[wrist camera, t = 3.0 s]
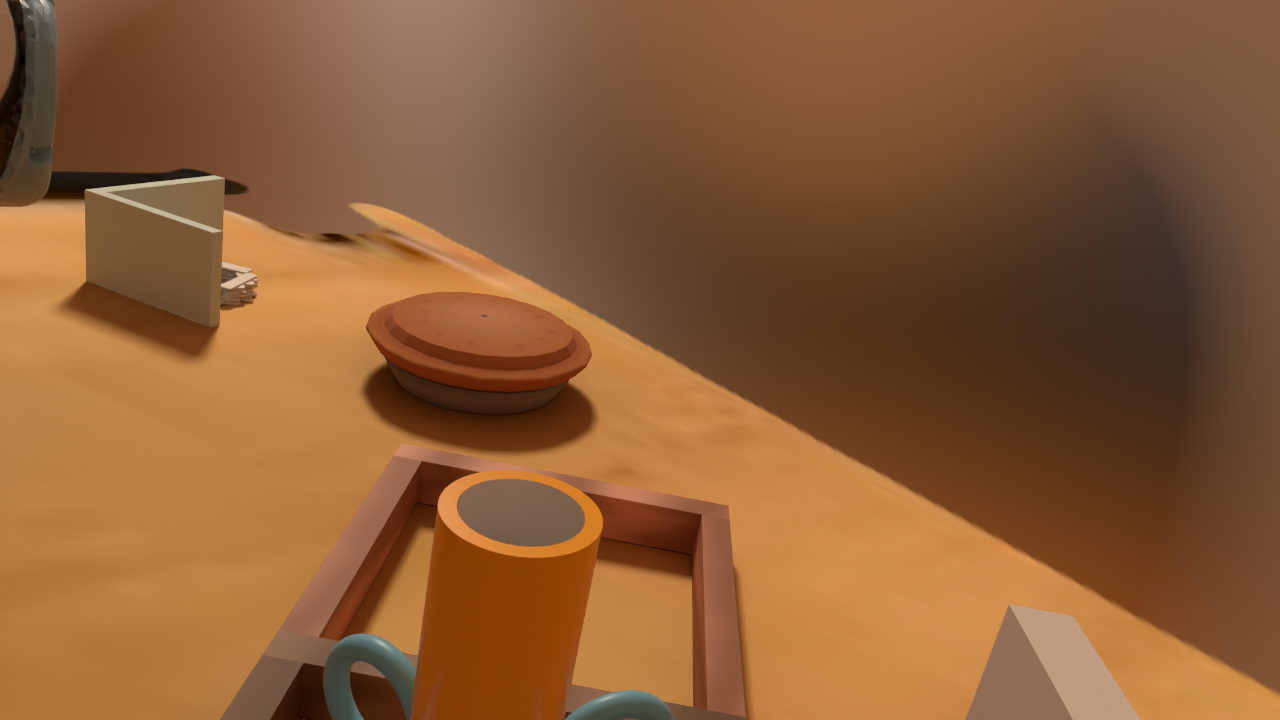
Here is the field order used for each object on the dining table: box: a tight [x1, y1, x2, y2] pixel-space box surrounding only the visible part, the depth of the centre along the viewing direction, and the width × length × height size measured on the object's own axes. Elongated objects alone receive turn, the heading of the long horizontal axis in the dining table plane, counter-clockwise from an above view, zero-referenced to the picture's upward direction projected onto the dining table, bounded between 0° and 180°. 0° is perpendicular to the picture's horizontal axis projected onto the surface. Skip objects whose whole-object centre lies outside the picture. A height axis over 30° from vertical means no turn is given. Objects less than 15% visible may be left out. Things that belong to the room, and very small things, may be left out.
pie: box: [366, 292, 592, 415], centre depth 67 cm, size 15×16×5 cm
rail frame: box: [220, 443, 746, 720], centre depth 36 cm, size 18×34×2 cm, turn 177°
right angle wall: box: [85, 176, 258, 328], centre depth 73 cm, size 12×12×8 cm
